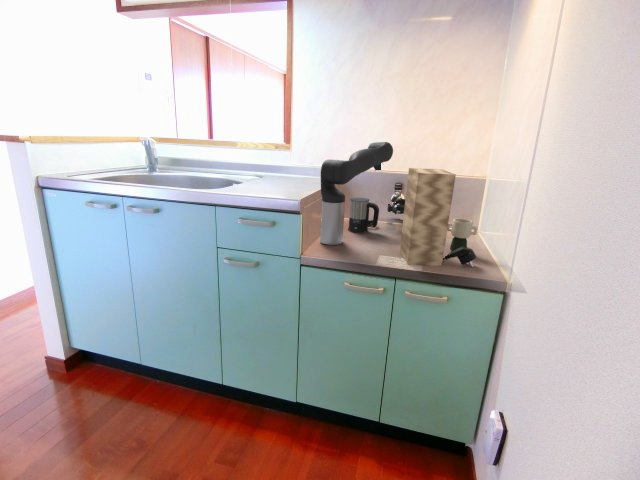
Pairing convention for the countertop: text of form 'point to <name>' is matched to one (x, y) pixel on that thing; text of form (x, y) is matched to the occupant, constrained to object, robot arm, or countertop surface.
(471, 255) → the power plug
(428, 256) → the stand
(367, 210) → the milk frother
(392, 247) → the countertop surface
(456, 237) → the character mug
